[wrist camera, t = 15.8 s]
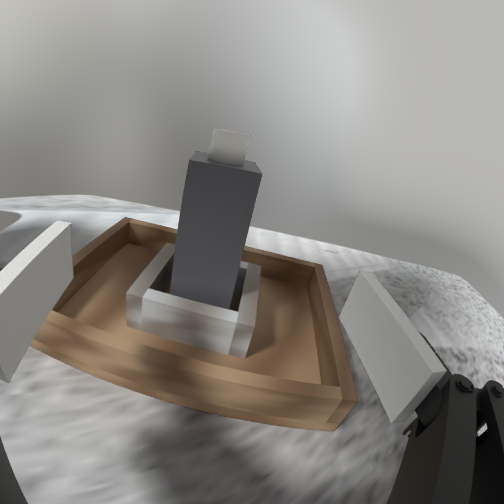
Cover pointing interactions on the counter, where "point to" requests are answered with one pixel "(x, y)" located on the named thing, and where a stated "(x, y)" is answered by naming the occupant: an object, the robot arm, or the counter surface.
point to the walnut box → (204, 332)
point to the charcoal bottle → (214, 220)
